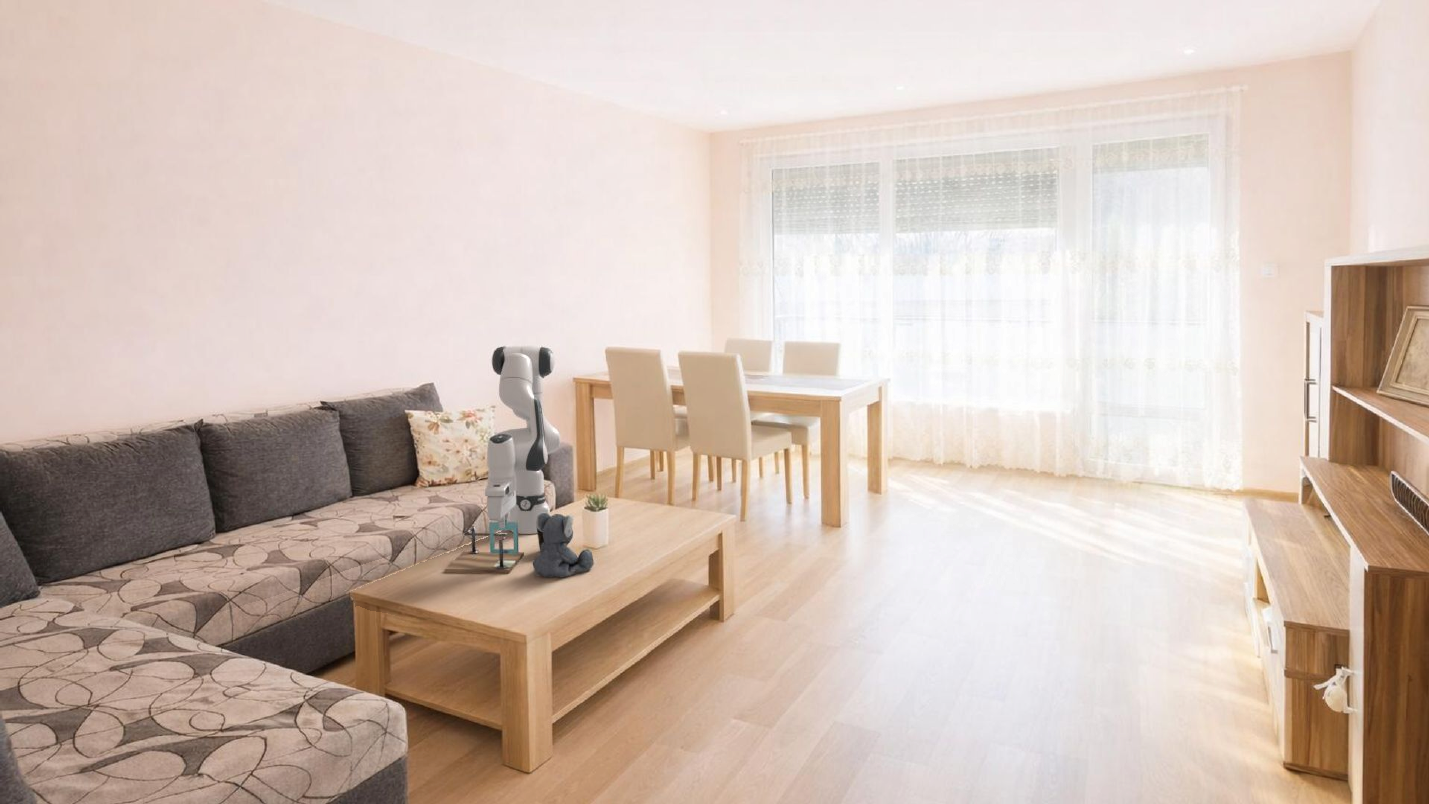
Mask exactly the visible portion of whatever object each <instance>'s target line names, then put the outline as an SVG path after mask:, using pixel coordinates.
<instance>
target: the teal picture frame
mask: <svg viewBox="0 0 1429 804" xmlns="http://www.w3.org/2000/svg"><path fill="white" fill-rule="evenodd" d="M488 526H489V527H488V529H489V532H488V533H490V536H489V552H490V553H499V548H496V545H495V543H496V542H495V541H496V540H495V536H494V533H495V531H510V530H513V532H512V535H513V536H512V537H513V548H503V554H518V553H519V552H520V551H519V533H518V522H509V521H508V522H506V526H505V528H499V522H498V521H489V524H488Z"/></svg>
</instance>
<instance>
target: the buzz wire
mask: <svg viewBox="0 0 1429 804" xmlns="http://www.w3.org/2000/svg"><path fill="white" fill-rule="evenodd" d="M463 535H464V536H471V550H469V551H468V552H469V553H470V554H476V553H478V552H480V551H479V550H477V549H476V546H477V545H476V536H481V537H483V536H484V537H486V536H488V537H490V532H488V533H486V532H483V533H482V532H476V526H475V525H471V526H470V527H469V529H467V531H466V532H464V534H463ZM494 537H502V538H500V539H499V540H498V549H499V560H500V565H499V566H497V569H505V568H506V565H503V549H504V542H503V541H504V540H505V539H506V538H507V537H509V533H504V532H503V533H500V532H497V533H495V532H494Z"/></svg>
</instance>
